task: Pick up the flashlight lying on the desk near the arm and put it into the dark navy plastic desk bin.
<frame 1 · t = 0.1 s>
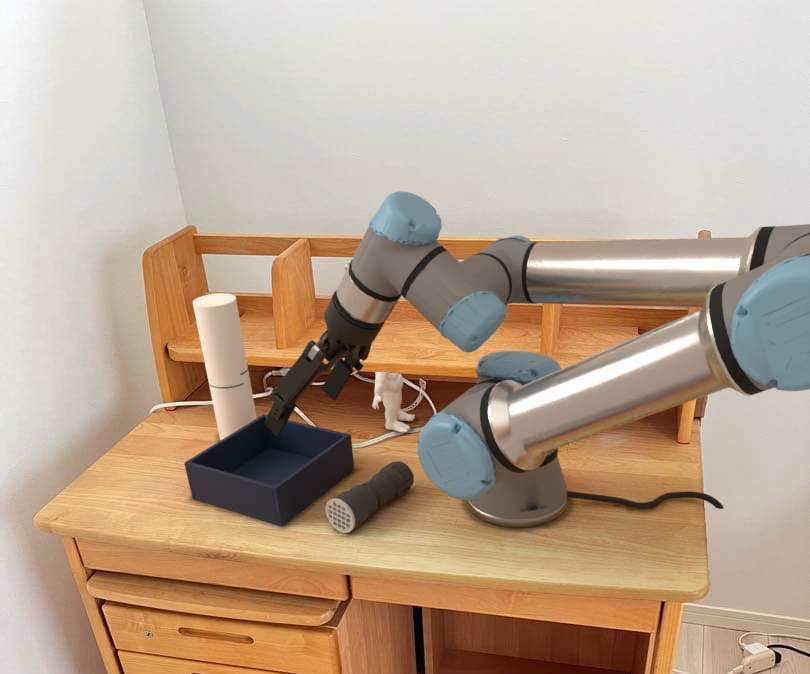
hand: (301, 410, 121), 15 cm above the table, tool tilted 35°, fingers open, 13 cm apart
bin: (275, 484, 134), on the table
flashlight: (372, 511, 126), on the table
cylindrical container: (239, 436, 150), on the table
toy creature: (396, 425, 150), on the table
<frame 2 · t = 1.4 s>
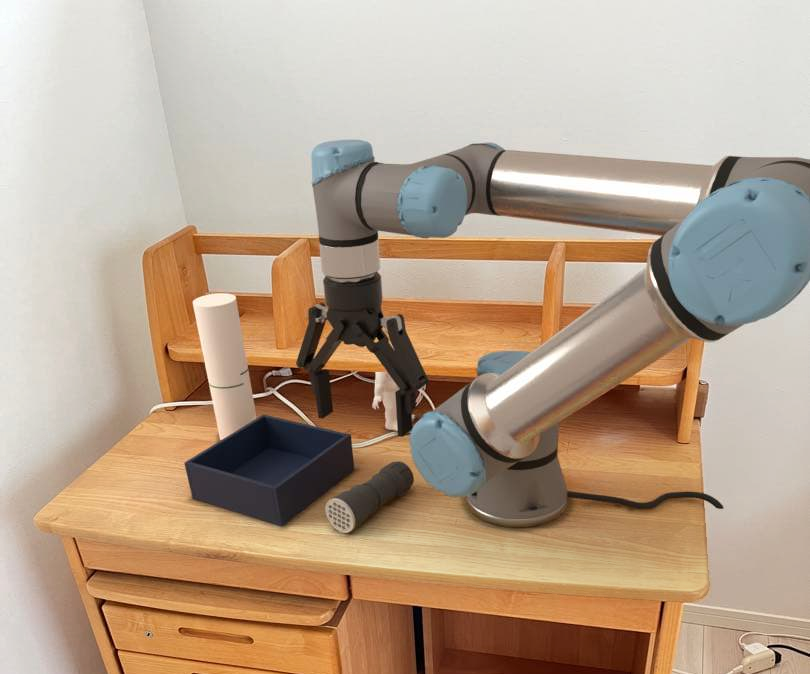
hand: (364, 423, 118), 15 cm above the table, tool pointing down, fingers open, 13 cm apart
nothing on the table moved.
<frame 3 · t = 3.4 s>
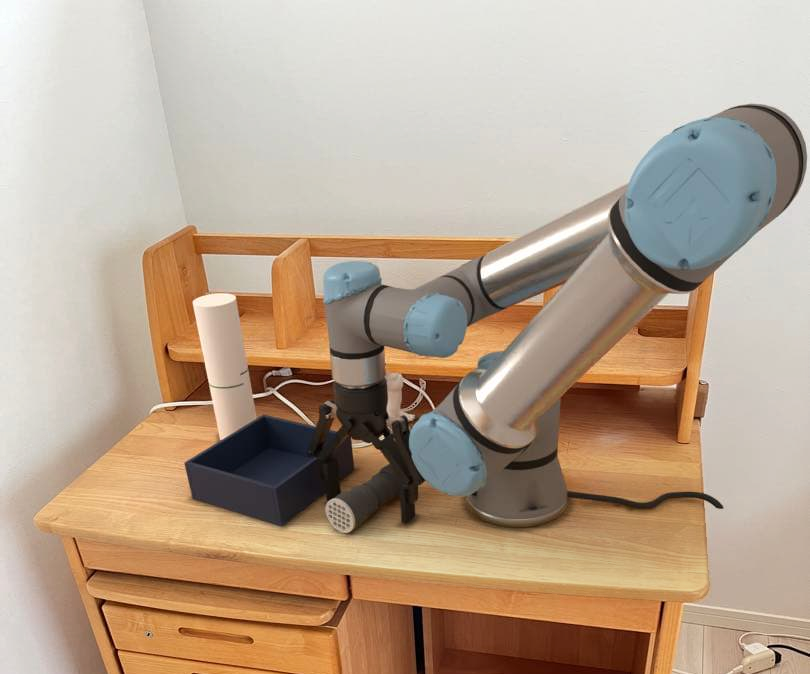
hand: (370, 508, 126), 0 cm above the table, tool pointing down, fingers open, 13 cm apart
nothing on the table moved.
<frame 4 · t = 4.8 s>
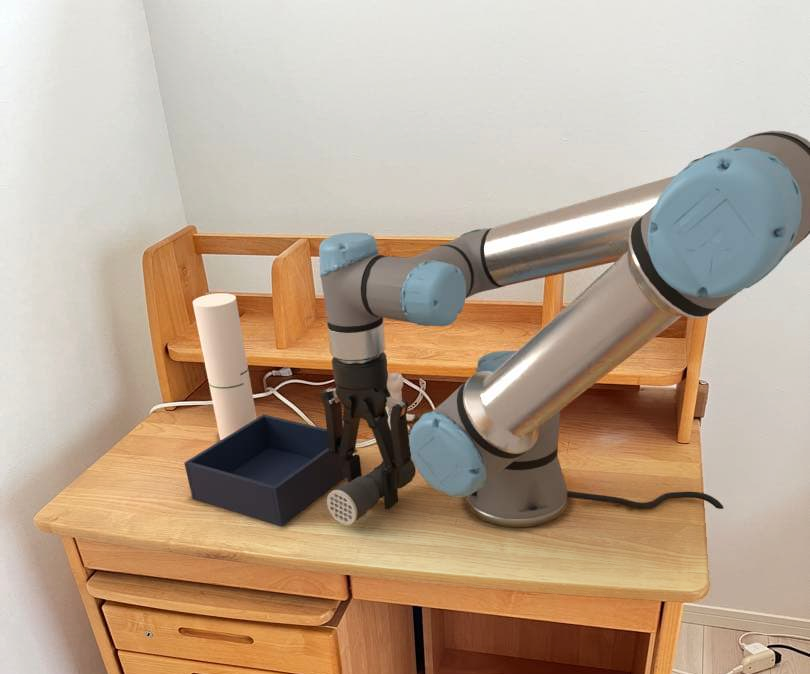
hand: (374, 500, 124), 2 cm above the table, tool pointing down, fingers closed on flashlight, 6 cm apart
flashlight: (374, 503, 125), point 1 cm above the table, touching gripper
everything else where it was.
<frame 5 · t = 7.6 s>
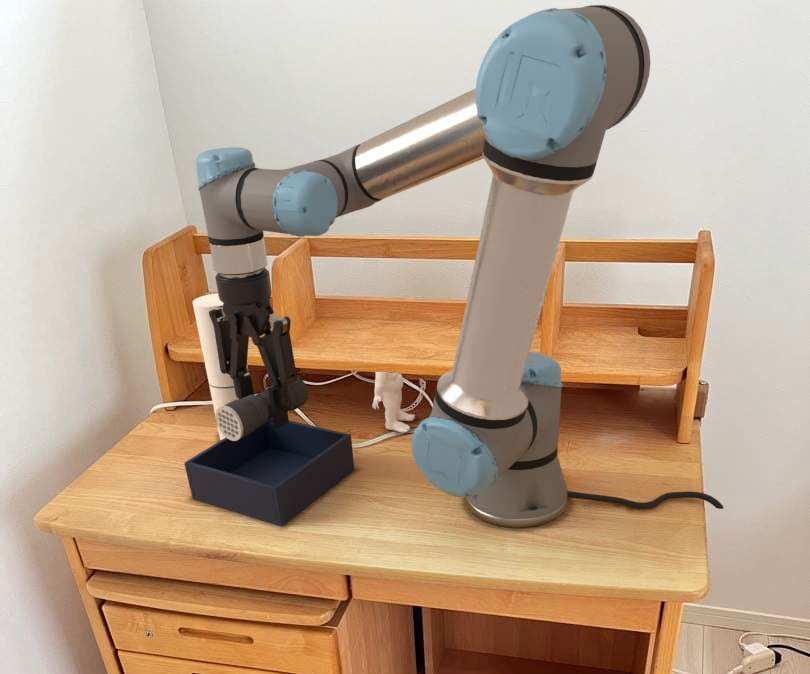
hand: (265, 420, 128), 11 cm above the table, tool pointing down, fingers closed on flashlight, 6 cm apart
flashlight: (266, 423, 128), point 11 cm above the table, touching gripper
everything else where it was.
when the fingers open (2 cm above the table, at t = 10.3 s): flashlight stays where it is, resting on bin.
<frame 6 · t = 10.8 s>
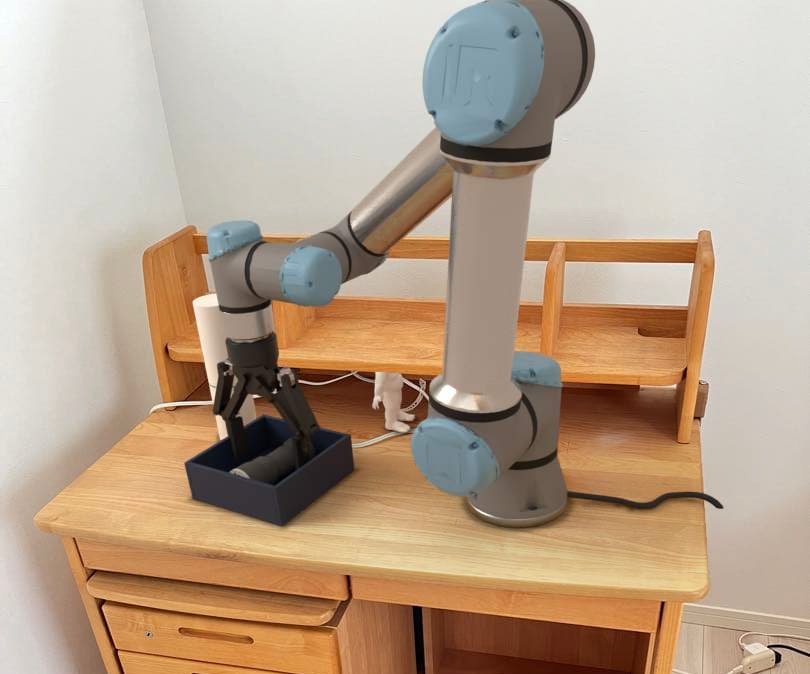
hand: (272, 463, 132), 4 cm above the table, tool pointing down, fingers open, 12 cm apart
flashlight: (275, 482, 134), resting on bin
everything else where it was.
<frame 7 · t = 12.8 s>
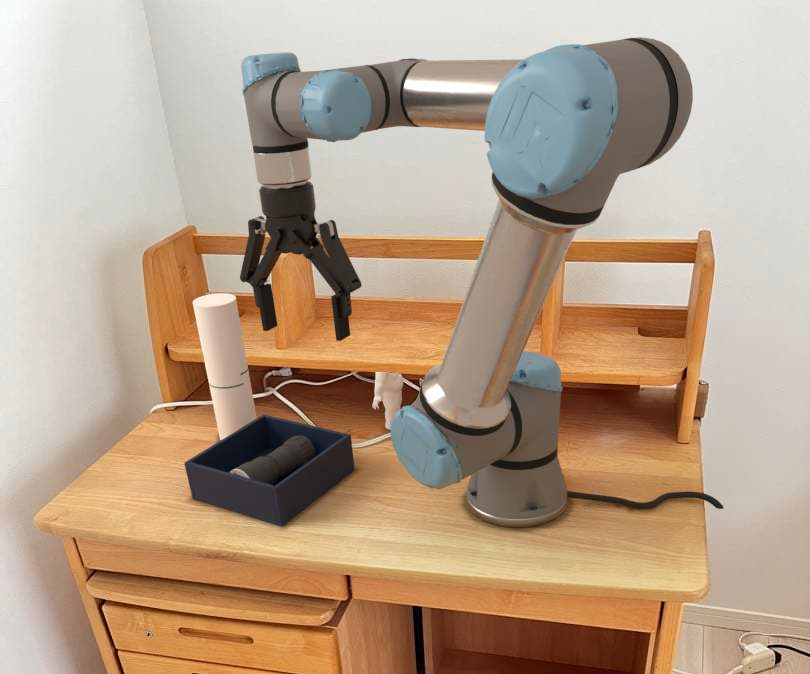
hand: (306, 333, 125), 23 cm above the table, tool pointing down, fingers open, 13 cm apart
nothing on the table moved.
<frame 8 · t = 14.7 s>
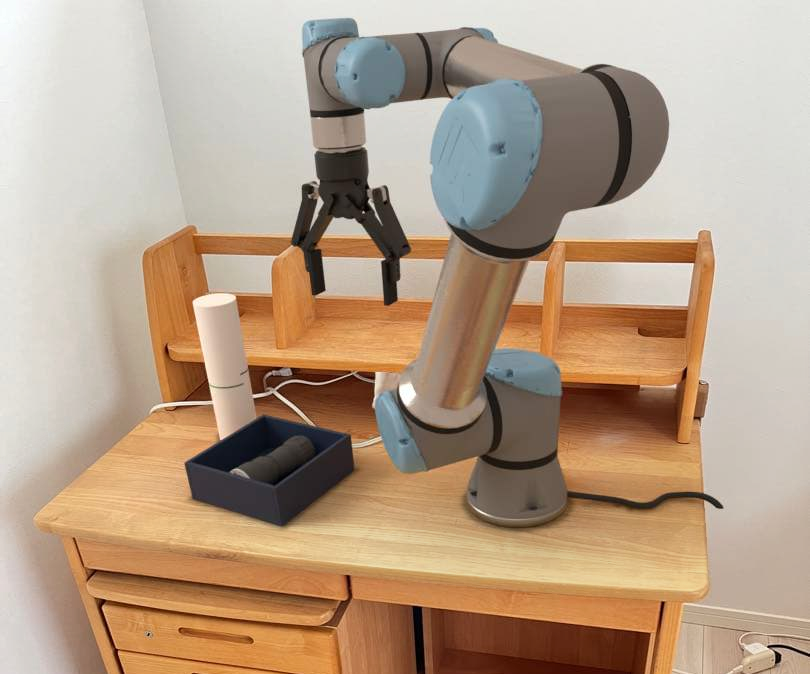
hand: (354, 298, 127), 27 cm above the table, tool pointing down, fingers open, 13 cm apart
nothing on the table moved.
at the end: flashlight inside the target area in the bin (0.2 cm from its centre), point 0.4 cm above the bin's base; the gripper is holding nothing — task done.
